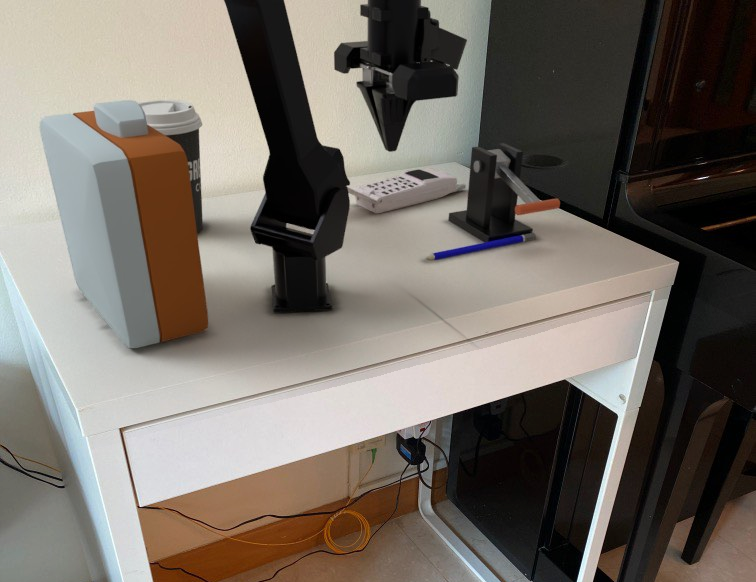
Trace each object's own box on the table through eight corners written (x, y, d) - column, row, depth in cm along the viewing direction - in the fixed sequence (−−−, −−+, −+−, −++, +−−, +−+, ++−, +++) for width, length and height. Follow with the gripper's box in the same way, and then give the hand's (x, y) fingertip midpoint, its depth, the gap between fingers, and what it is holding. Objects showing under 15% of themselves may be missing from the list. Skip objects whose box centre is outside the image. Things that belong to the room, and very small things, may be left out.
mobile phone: (307, 171, 107) (444, 142, 119) (309, 215, 110) (442, 182, 123) (333, 183, 103) (472, 151, 115) (334, 228, 107) (468, 193, 119)
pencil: (531, 238, 105) (532, 231, 104) (536, 241, 104) (537, 233, 104) (423, 261, 98) (424, 253, 98) (427, 263, 98) (428, 255, 97)
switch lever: (556, 214, 98) (562, 197, 97) (517, 221, 96) (522, 204, 94) (507, 164, 104) (511, 146, 103) (468, 169, 102) (473, 152, 100)
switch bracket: (531, 237, 105) (543, 156, 98) (487, 245, 102) (496, 162, 96) (490, 214, 112) (498, 136, 105) (448, 221, 109) (453, 142, 103)
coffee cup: (192, 246, 101) (174, 119, 91) (127, 236, 103) (104, 111, 93) (226, 222, 108) (214, 102, 98) (165, 213, 110) (147, 95, 101)
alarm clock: (213, 335, 82) (185, 120, 69) (130, 356, 78) (85, 133, 65) (150, 274, 94) (116, 81, 81) (76, 290, 90) (28, 90, 77)
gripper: (507, 2, 80) (491, 163, 90) (416, -18, 93) (410, 125, 103) (413, 7, 76) (407, 175, 86) (330, -14, 89) (333, 134, 98)
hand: (390, 150), depth 93 cm, fingers closed
